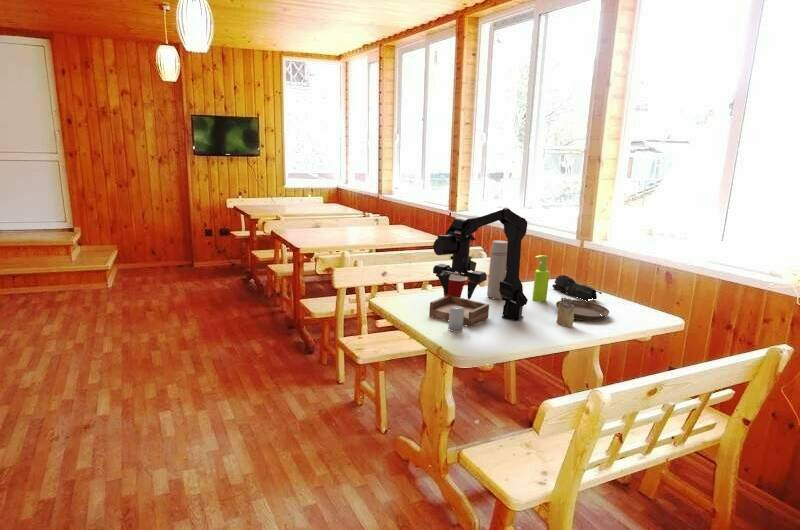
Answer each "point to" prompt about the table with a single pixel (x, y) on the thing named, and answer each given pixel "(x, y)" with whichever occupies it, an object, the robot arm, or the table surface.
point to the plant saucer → (587, 310)
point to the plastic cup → (455, 285)
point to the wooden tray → (472, 309)
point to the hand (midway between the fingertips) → (457, 296)
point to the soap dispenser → (541, 280)
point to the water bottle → (497, 268)
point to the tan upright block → (565, 312)
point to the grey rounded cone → (456, 318)
